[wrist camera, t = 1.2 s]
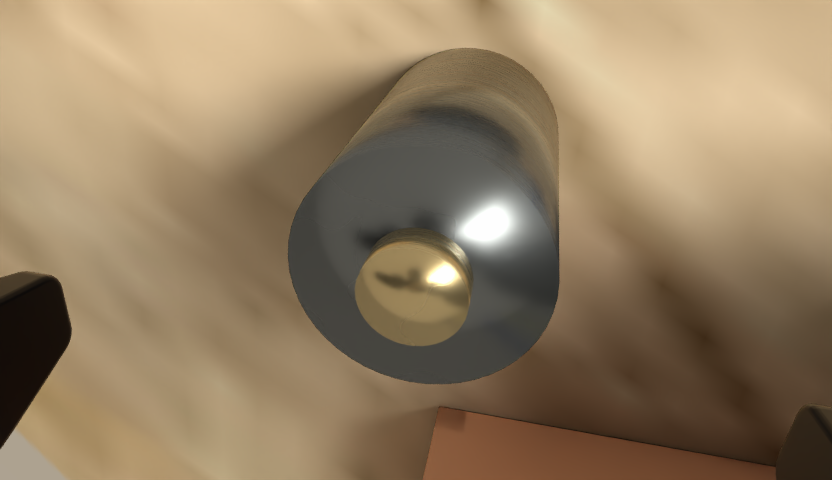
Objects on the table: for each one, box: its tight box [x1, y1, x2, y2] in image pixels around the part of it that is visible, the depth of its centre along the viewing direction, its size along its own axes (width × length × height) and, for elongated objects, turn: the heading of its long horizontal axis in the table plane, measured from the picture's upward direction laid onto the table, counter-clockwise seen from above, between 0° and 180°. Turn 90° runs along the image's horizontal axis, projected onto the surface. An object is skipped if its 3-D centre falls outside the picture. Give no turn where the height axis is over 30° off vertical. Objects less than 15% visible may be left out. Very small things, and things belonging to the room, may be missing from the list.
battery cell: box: [288, 48, 559, 384], centre depth 12 cm, size 4×4×7 cm
